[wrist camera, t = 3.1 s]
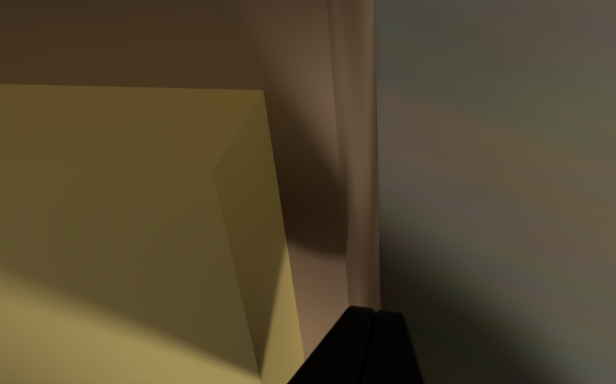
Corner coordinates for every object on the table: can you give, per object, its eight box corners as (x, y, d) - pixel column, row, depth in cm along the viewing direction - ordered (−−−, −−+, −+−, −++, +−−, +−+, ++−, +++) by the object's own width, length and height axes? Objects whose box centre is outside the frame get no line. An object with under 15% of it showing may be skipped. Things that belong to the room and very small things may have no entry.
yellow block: (308, 387, 12) (283, 480, 10) (-6, 340, 14) (-66, 413, 12) (263, 89, 8) (211, 171, 6) (-176, 79, 10) (-298, 140, 8)
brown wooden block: (382, 404, 19) (364, 532, 16) (68, 356, 22) (0, 456, 18) (363, -543, 7) (270, -786, 4) (-331, -374, 10) (-706, -435, 7)
